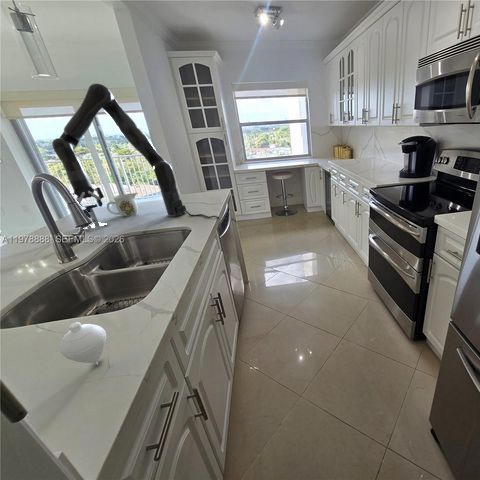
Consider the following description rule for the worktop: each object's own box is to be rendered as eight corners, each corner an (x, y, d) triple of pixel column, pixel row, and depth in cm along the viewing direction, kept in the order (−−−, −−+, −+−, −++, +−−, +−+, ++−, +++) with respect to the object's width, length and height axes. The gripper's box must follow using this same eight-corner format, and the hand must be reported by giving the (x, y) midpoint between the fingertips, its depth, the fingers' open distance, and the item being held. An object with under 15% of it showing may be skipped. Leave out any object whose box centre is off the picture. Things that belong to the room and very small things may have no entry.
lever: (98, 207, 142) (95, 203, 142) (87, 209, 138) (85, 205, 138) (91, 212, 149) (89, 208, 149) (81, 214, 145) (79, 210, 145)
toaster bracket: (107, 225, 151) (99, 206, 146) (89, 231, 144) (80, 211, 139) (97, 223, 156) (89, 204, 152) (79, 228, 149) (70, 209, 144)
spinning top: (68, 373, 58) (41, 333, 53) (104, 348, 64) (83, 309, 59) (89, 383, 55) (63, 342, 50) (124, 355, 61) (104, 316, 56)
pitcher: (112, 217, 166) (103, 196, 160) (144, 211, 175) (137, 191, 169) (111, 221, 158) (102, 200, 152) (145, 215, 167) (138, 194, 161)
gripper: (64, 182, 127) (79, 213, 134) (97, 176, 138) (109, 205, 145) (58, 181, 130) (72, 211, 137) (91, 176, 142) (103, 204, 148)
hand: (91, 208), depth 141 cm, fingers open, 8 cm apart
